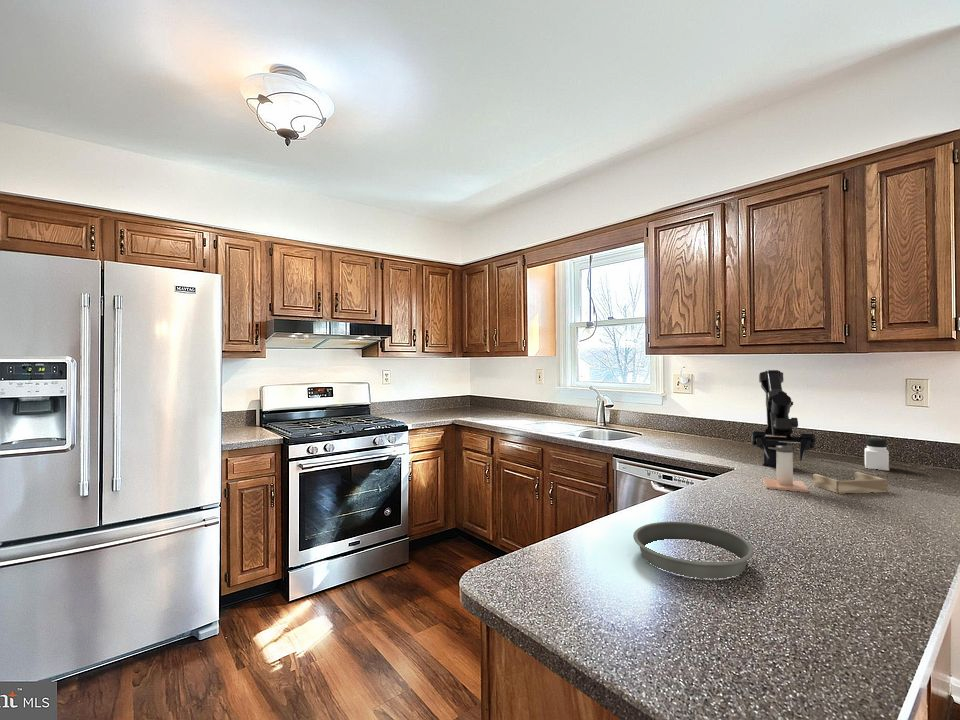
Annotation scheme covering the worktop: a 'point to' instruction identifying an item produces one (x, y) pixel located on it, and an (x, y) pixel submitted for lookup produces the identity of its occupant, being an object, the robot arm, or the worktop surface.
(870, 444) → the medicine bottle
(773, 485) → the terracotta tile
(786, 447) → the cream spice jar
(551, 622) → the worktop surface
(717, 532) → the grey thin ring
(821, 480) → the birch stall
